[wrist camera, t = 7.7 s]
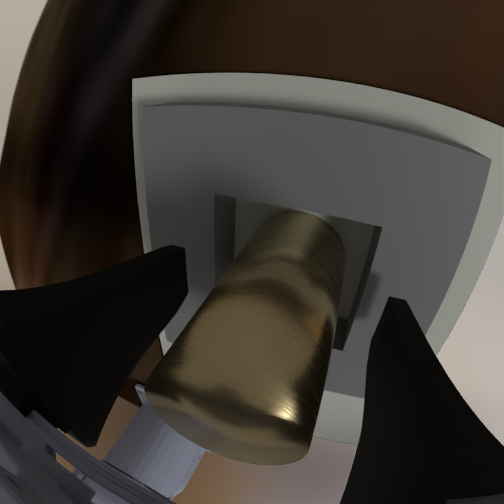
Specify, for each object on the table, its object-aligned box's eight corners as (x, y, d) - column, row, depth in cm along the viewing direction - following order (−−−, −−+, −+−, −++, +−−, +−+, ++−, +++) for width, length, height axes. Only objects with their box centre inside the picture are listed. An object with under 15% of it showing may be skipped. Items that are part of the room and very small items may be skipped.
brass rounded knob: (335, 303, 13) (293, 476, 6) (249, 284, 14) (161, 431, 8) (354, 221, 11) (330, 410, 4) (253, 202, 12) (126, 345, 5)
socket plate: (367, 438, 19) (362, 468, 17) (177, 383, 23) (160, 407, 21) (513, 133, 8) (548, 146, 5) (143, 78, 12) (100, 81, 9)
